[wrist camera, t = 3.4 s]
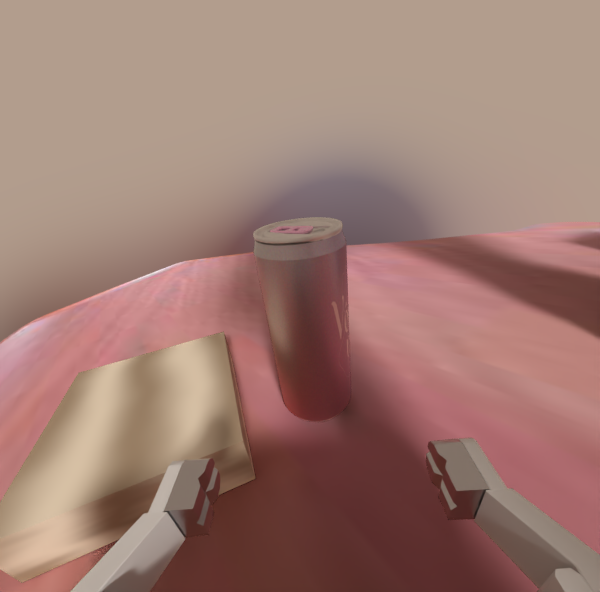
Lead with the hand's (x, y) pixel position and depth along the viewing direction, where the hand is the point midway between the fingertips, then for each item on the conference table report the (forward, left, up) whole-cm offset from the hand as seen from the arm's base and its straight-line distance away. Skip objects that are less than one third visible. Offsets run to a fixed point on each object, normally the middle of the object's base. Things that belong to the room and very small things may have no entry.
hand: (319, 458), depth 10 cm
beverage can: (-3, -10, -9) cm, 14 cm away
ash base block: (+10, -12, -8) cm, 17 cm away
